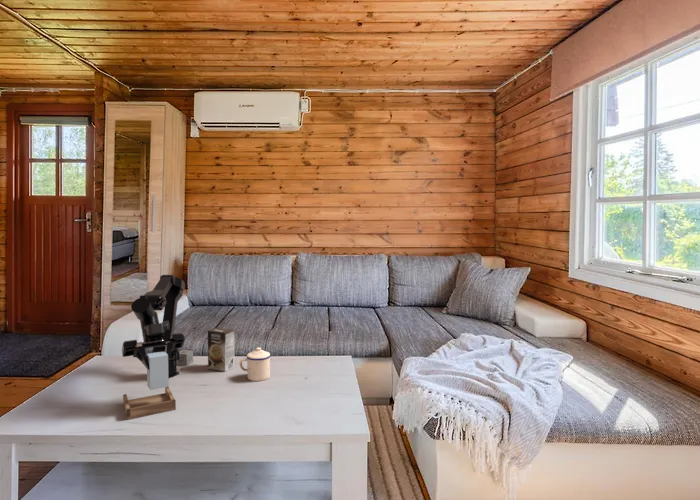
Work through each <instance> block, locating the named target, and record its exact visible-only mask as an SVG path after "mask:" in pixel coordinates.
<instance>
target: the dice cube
mask: <svg viewBox="0 0 700 500" xmlns="http://www.w3.org/2000/svg"><path fill="white" fill-rule="evenodd" d="M179 351H180V360H177V361H176V366H185V367H187V366H189V365H191V364H192V363H194V350H189V349H188V350H187V349H183V350H179Z"/></svg>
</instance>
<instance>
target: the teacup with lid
mask: <svg viewBox="0 0 700 500" xmlns="http://www.w3.org/2000/svg"><path fill="white" fill-rule="evenodd" d="M239 361H240V362H239V367H240V369H241V371H243V372H247V375H246V377H247V379H248V380H249V381H252V382H261V381H265V380H268V379H270V376H271V353H270V352H269V351H266V350H264V349H262V348H261V347H256V348H255V349H254V350H253V351H251V352H249V353H247V355H246V358H242V359H241V360H239ZM245 361H246V363H247V365H246V367H247V368H245V367H244V366H243V362H245Z"/></svg>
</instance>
